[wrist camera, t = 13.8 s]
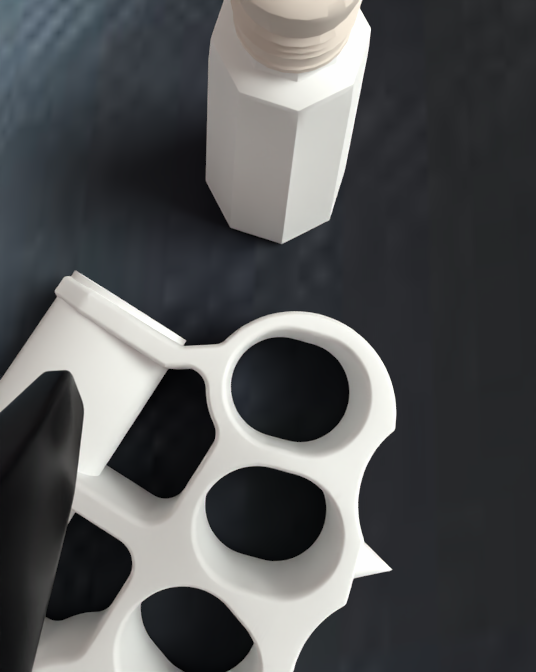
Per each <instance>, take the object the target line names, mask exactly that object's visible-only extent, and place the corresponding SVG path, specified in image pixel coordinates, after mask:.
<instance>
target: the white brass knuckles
mask: <svg viewBox="0 0 536 672" xmlns="http://www.w3.org/2000/svg"><path fill="white" fill-rule="evenodd" d="M55 294H56V295H57V298H56V299H55V301H54V302H53V304H52V305H51V307H50V308H49V309H48V311H47V312H46V314H45V315H44V317H43V318H42V320H41V321H40V323H39V324H38V326H37V327H36V329H35V330H34V332H33V333H32V334H31V336H30V337H29V339H28V340H27V342H26V343H25V345H24V346H23V348H22V349H21V351H20V352H19V354H18V355H17V357H16V358H15V359H14V361H13V362H12V364H11V365H10V367H9V368H8V370H7V371H6V373H5V374H4V376H3V377H2V379H1V380H0V412H1V411H2V410H3V409H4V408H5V407H6V406H8V405H9V404H10V403H11V402H12V401H13V400H14V399H15V398H16V397H17V396H18V395H19V394H20V393H22V392H23V391H24V390H25V389H26V388H27V387H28V386H29V385H30V384H31V383H32V382H33V381H34V380H36V379H37V378H38V377H39V376H40V375H41V374H42V373H44V372H46V371H56V370H67V371H70V372H71V374H72V375H73V377H74V380H75V383H76V385H77V388H78V391H79V393H80V396H81V398H82V401H83V405H84V419H83V428H82V436H81V445H80V453H79V462H78V470H77V479H76V486H75V493H74V498H73V503H72V508H71V512H70V516H69V520H68V523H69V521H70V520H71V518H72V517H73V515H74V514H75V512H76V513H78V514H79V515H81V516H82V517H84V518H86V519H87V520H89V521H90V522H92V523H93V524H95V525H96V526H98V527H100V528H101V529H103V530H104V531H106V532H107V533H109V534H110V535H112V536H114V537H115V538H117V539H118V540H120V541H121V542H122V543H124V544H125V546H126V547H127V548H128V550H129V552H130V554H131V557H132V571H131V574H130V576H129V577H128V579H127V580H126V582H125V584H124V585H123V587H122V588H121V590H120V592H119V593H118V595H117V596H116V598H115V599H114V601H113V603H112V604H111V605H110V606H109V607H108V608H107V609H105V610H103V611H99V612H87V613H82V614H78V615H75V616H72V617H69V618H67V619H65V620H61V621H54V620H51V619H48V618H47V617H45V619H44V623H43V628H42V632H41V636H40V640H39V644H38V648H37V652H36V657H35V661H34V665H33V669H32V672H184V671H182V670H180V669H179V668H177V667H176V666H174V665H173V664H172V663H171V662H170V661H169V660H168V659H167V658H166V657H165V656H164V654H163V653H162V652H161V651H160V650H159V648H158V647H157V646H156V645H155V643H154V642H153V641H152V640H151V638H150V637H149V635H148V634H147V632H146V630H145V627H144V625H143V621H142V617H141V602H142V601H144V600H145V599H146V598H147V597H149V596H151V595H152V594H154V593H156V592H158V591H161V590H163V589H167V588H171V587H180V586H185V587H194V588H198V589H201V590H204V591H206V592H209V593H211V594H212V595H214V596H216V597H217V598H218V599H220V600H221V601H222V602H223V603H224V604H225V605H226V606H227V607H228V608H229V609H230V610H231V612H232V613H233V614H234V615H235V616H236V618H237V619H238V620H239V621H240V622H241V624H242V625H243V626H244V627H245V628H246V630H247V631H248V633H249V634H250V636H251V638H252V640H253V642H254V644H253V646H252V648H251V650H250V652H249V653H248V654H247V656H246V657H245V658H244V659H243V660H242V661H241V662H240V663H239V664H238V665H237V666H235V667H234V668H232V669H231V670H229V671H227V672H293V670H294V667H295V664H296V661H297V658H298V656H299V653H300V651H301V649H302V647H303V645H304V644H305V642H306V640H307V639H308V637H309V636H310V635H311V633H312V632H313V631H314V630H315V628H316V627H317V626H318V625H319V624H320V623H321V622H322V621H323V620H324V619H326V618H327V617H328V616H329V615H330V614H332V613H333V612H335V611H336V610H338V609H339V608H341V607H343V606H345V605H346V603H347V599H348V596H349V592H350V589H351V585H352V582H353V578H358V577H362V576H367V575H372V574H376V573H381V572H385V571H390V570H392V569H391V568H390V567H389V566H388V565H387V564H386V563H385V562H384V561H383V560H382V559H381V558H380V557H379V556H378V555H377V554H376V553H375V552H374V551H373V550H372V549H371V548H370V547H369V546H368V545H367V544H366V543H365V542H364V539H363V535H362V532H361V528H360V523H359V516H358V496H359V489H360V484H361V480H362V476H363V473H364V471H365V468H366V466H367V464H368V462H369V460H370V458H371V456H372V455H373V453H374V452H375V450H376V449H377V447H378V446H379V445H380V444H381V443H382V441H383V440H384V439H385V438H386V437H387V436H388V435H390V434H391V433H392V432H393V431H394V430H395V423H396V403H395V396H394V391H393V387H392V383H391V380H390V377H389V375H388V372H387V370H386V368H385V366H384V364H383V362H382V361H381V359H380V358H379V356H378V355H377V353H376V352H375V350H374V349H373V348H372V347H371V346H370V345H369V343H368V342H367V341H366V340H365V339H364V338H362V337H361V336H360V335H359V334H358V333H357V332H355V331H354V330H352V329H351V328H349V327H348V326H346V325H345V324H343V323H341V322H339V321H337V320H334V319H332V318H329V317H327V316H323V315H320V314H315V313H310V312H299V311H292V312H280V313H275V314H271V315H267V316H264V317H261V318H258V319H256V320H254V321H252V322H250V323H248V324H246V325H244V326H242V327H241V328H239V329H238V330H237V331H235V332H234V333H233V334H231V335H230V336H229V337H228V338H227V339H226V340H225V341H223V342H222V343H219V344H211V345H194V346H184V344H185V342H186V340H185V339H183V338H182V337H180V336H179V335H177V334H175V333H174V332H172V331H171V330H169V329H168V328H166V327H165V326H163V325H161V324H160V323H158V322H157V321H155V320H154V319H152V318H150V317H149V316H147V315H146V314H144V313H143V312H141V311H139V310H138V309H136V308H135V307H133V306H131V305H130V304H128V303H127V302H125V301H124V300H122V299H120V298H119V297H117V296H116V295H114V294H112V293H111V292H109V291H108V290H106V289H104V288H103V287H101V286H100V285H98V284H96V283H95V282H93V281H92V280H90V279H88V278H87V277H85V276H84V275H82V274H80V273H79V272H77V271H74V273H73V274H72V276H71V277H70V276H66V277H64V278H63V279H62V281H61V282H60V284H59V285H58V287H57V288H56V290H55ZM274 337H287V338H292V339H296V340H300V341H303V342H307V343H311V344H314V345H317V346H320V347H322V348H324V349H325V350H327V351H328V352H330V353H331V354H332V355H333V356H334V357H335V358H336V359H337V360H338V361H339V362H340V364H341V365H342V367H343V369H344V371H345V373H346V376H347V379H348V383H349V402H348V406H347V409H346V412H345V414H344V416H343V418H342V419H341V421H340V422H339V424H338V425H337V426H336V427H335V428H334V429H333V430H332V431H331V432H329V433H328V434H326V435H325V436H323V437H321V438H318V439H316V440H312V441H308V442H293V441H288V440H284V439H280V438H277V437H273V436H269V435H266V434H263V433H260V432H258V431H256V430H255V429H253V428H252V427H250V426H249V425H248V424H247V423H246V422H245V421H244V420H243V419H242V418H241V416H240V415H239V413H238V412H237V410H236V408H235V406H234V403H233V400H232V395H231V379H232V374H233V371H234V368H235V366H236V364H237V362H238V360H239V359H240V357H241V356H242V355H243V354H244V352H245V351H246V350H248V349H249V348H250V347H251V346H253V345H254V344H256V343H258V342H260V341H262V340H265V339H268V338H274ZM168 369H193V370H195V371H197V372H198V373H199V374H200V375H201V376H202V378H203V380H204V382H205V386H206V399H207V405H208V409H209V413H210V416H211V418H212V421H213V423H214V426H215V430H216V435H215V440H214V442H213V444H212V446H211V447H210V449H209V450H208V452H207V454H206V455H205V457H204V458H203V460H202V461H201V463H200V465H199V466H198V468H197V469H196V471H195V473H194V474H193V476H192V477H191V479H190V480H189V482H188V484H187V485H186V487H185V488H184V490H183V491H182V492H181V493H180V494H178V495H177V496H175V497H172V498H167V499H164V498H159V497H156V496H154V495H153V494H151V493H149V492H148V491H146V490H145V489H143V488H142V487H140V486H138V485H137V484H135V483H134V482H132V481H131V480H129V479H128V478H126V477H124V476H123V475H121V474H120V473H118V472H117V471H115V470H113V469H112V468H110V467H109V466H107V465H106V464H107V463H108V461H109V460H110V458H111V457H112V455H113V453H114V452H115V450H116V449H117V447H118V446H119V444H120V443H121V441H122V440H123V438H124V436H125V435H126V433H127V432H128V430H129V429H130V427H131V426H132V424H133V423H134V421H135V419H136V418H137V416H138V415H139V413H140V412H141V410H142V409H143V407H144V406H145V404H146V402H147V401H148V399H149V398H150V396H151V395H152V393H153V392H154V390H155V389H156V387H157V385H158V384H159V382H160V381H161V379H162V378H163V376H164V375H165V373H166V372H167V370H168ZM250 466H264V467H270V468H274V469H277V470H281V471H285V472H288V473H292V474H296V475H299V476H302V477H304V478H306V479H308V480H310V481H311V482H313V483H314V484H316V485H317V486H318V487H319V488H320V489H321V490H322V491H323V493H324V496H325V501H326V518H325V523H324V526H323V529H322V531H321V533H320V535H319V537H318V538H317V540H316V541H315V542H314V543H313V545H312V546H311V547H310V548H309V549H307V550H306V551H305V552H303V553H302V554H300V555H298V556H296V557H294V558H291V559H288V560H283V561H267V560H263V559H259V558H255V557H252V556H248V555H244V554H241V553H238V552H235V551H233V550H231V549H230V548H228V547H227V546H225V545H224V544H223V543H222V542H221V541H220V540H219V539H218V538H217V537H216V536H215V534H214V533H213V531H212V530H211V528H210V526H209V523H208V520H207V516H206V511H205V499H206V494H207V492H208V491H209V490H210V488H211V487H212V486H213V485H214V484H215V483H216V482H217V481H218V480H219V479H221V478H222V477H223V476H225V475H226V474H228V473H230V472H232V471H234V470H237V469H240V468H244V467H250Z"/></svg>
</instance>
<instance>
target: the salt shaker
mask: <svg viewBox="0 0 536 672" xmlns="http://www.w3.org/2000/svg"><path fill="white" fill-rule="evenodd" d="M361 2H362V0H224V2H223V5H222V8H221V10H220V13H219V16H218V19H217V22H216V25H215V28H214V31H213V34H212V37H211V42H210V51H209V62H208V103H207V144H206V182H207V184H208V186H209V188H210V190H211V192H212V194H213V196H214V198H215V200H216V202H217V203H218V205H219V207H220V209H221V211H222V213H223V215H224V217H225V219H226V221H227V223H228V224H229V226H230V228H233V229H236V230H239V231H242V232H245V233H249V234H252V235H255V236H258V237H261V238H264V239H267V240H271V241H274V242H277V243H280V244H283V243H285V242H287V241H289V240H291V239H293V238H295V237H297V236H299V235H301V234H303V233H305V232H307V231H309V230H311V229H312V228H314V227H316V226H318V225H320V224H322V223H324V222H326V221H328V220H329V219H330V216H331V213H332V210H333V206H334V203H335V200H336V197H337V194H338V190H339V187H340V184H341V181H342V178H343V174H344V171H345V166H346V161H347V156H348V151H349V146H350V141H351V136H352V131H353V126H354V121H355V116H356V111H357V105H358V100H359V95H360V90H361V85H362V80H363V75H364V70H365V65H366V60H367V55H368V50H369V41H370V32H371V28H370V26H369V24H368V22H367V21H366V19H365V17H364V15H363V13H362V12H361V10H360V5H361Z"/></svg>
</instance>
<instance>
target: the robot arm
mask: <svg viewBox="0 0 536 672" xmlns="http://www.w3.org/2000/svg"><path fill="white" fill-rule="evenodd" d="M83 419H84V405H83V401H82V398H81V396H80V393H79V391H78V388H77V385H76V383H75V380H74V377H73V375H72V374H71V372H70V371H67V370H56V371H46V372H44V373H42V374H41V375H40V376H39V377H38V378H37V379H36V380H34V381H33V382H32V383H31V384H30V385H29V386H28V387H27V388H26V389H25V390H24V391H23V392H22V393H20V394H19V395H18V396H17V397H16V398H15V399H14V400H13V401H12V402H11V403H10V404H9V405H8V406H6V407H5V408H4V409H3V410H2V411H1V412H0V672H32V669H33V665H34V661H35V657H36V652H37V648H38V644H39V640H40V636H41V632H42V628H43V623H44V619H45V615H46V611H47V607H48V603H49V599H50V595H51V590H52V586H53V582H54V578H55V574H56V570H57V566H58V562H59V557H60V553H61V549H62V545H63V541H64V537H65V533H66V529H67V524H68V520H69V516H70V512H71V508H72V503H73V498H74V493H75V486H76V479H77V470H78V462H79V453H80V445H81V436H82V428H83Z"/></svg>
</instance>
